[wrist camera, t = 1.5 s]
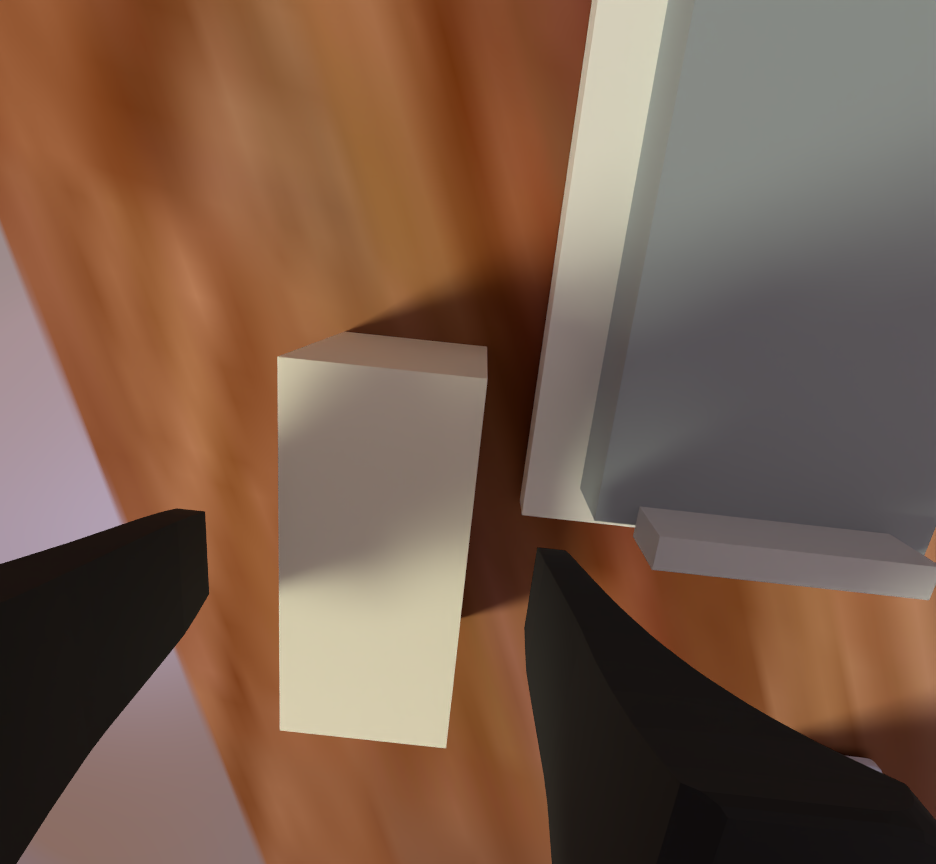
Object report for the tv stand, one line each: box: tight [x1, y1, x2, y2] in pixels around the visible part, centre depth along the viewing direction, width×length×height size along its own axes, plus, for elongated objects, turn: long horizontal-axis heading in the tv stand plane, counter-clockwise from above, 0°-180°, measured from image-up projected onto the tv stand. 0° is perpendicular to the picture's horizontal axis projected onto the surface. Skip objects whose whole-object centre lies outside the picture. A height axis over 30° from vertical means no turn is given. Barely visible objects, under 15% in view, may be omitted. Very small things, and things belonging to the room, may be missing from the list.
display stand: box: [520, 0, 936, 600], centre depth 11 cm, size 14×11×4 cm
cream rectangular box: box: [278, 332, 488, 748], centre depth 13 cm, size 9×4×5 cm, turn 174°
